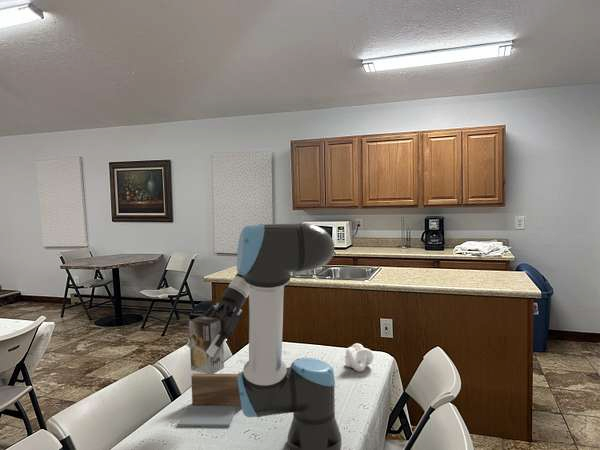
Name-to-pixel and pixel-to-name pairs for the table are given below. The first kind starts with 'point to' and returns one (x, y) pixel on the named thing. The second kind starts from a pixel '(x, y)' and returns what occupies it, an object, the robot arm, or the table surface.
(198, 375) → the walnut screen
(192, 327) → the coffee box
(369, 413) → the table surface
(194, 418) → the mat
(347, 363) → the white lobed ornament
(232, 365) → the table surface
